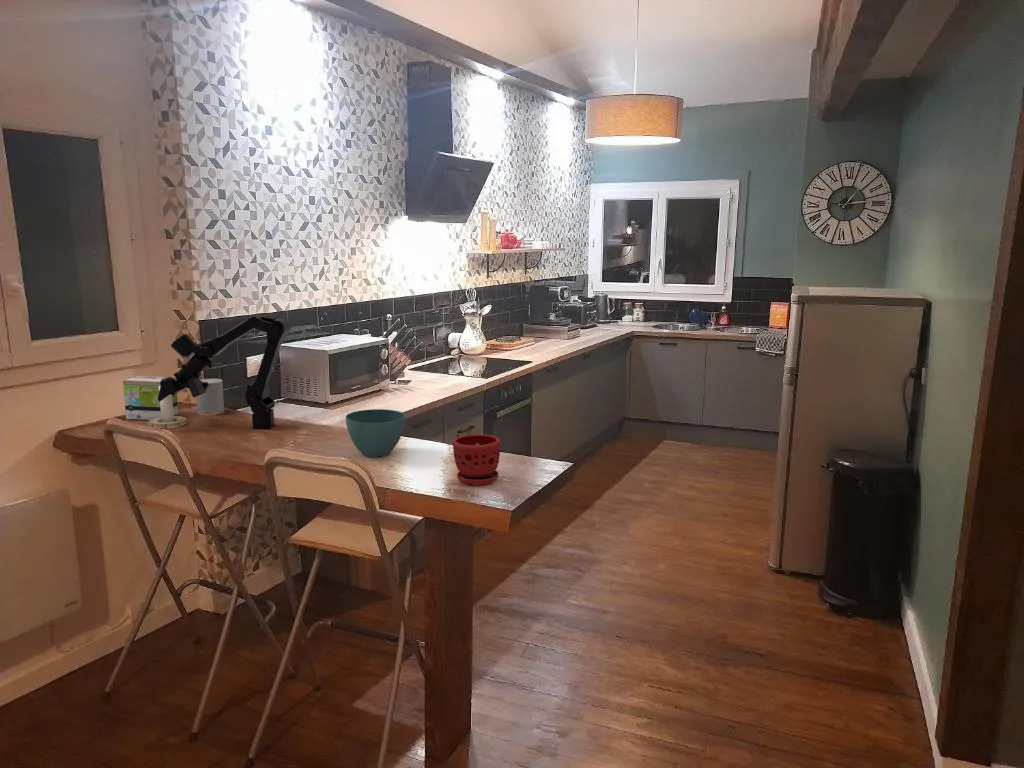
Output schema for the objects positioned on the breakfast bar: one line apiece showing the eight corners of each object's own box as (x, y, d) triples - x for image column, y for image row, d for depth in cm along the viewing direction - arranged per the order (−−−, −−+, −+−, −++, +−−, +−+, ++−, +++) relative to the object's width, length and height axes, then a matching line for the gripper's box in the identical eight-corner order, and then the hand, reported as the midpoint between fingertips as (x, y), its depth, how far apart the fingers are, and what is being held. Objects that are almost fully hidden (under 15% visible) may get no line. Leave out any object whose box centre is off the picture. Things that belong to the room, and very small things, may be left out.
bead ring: (192, 421, 267) (192, 416, 266) (175, 429, 255) (175, 424, 255) (160, 419, 267) (160, 415, 267) (142, 428, 256) (142, 423, 255)
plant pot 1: (380, 442, 243) (379, 406, 241) (417, 453, 232) (417, 415, 229) (334, 453, 230) (333, 415, 227) (372, 466, 218) (371, 425, 216)
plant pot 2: (499, 472, 214) (499, 433, 211) (500, 488, 201) (500, 445, 198) (454, 472, 213) (454, 432, 211) (452, 487, 200) (452, 445, 198)
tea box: (125, 420, 267) (121, 380, 264) (140, 413, 276) (136, 375, 273) (166, 421, 266) (162, 381, 263) (179, 414, 276) (176, 375, 273)
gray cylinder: (208, 417, 273) (206, 384, 271) (191, 413, 278) (189, 381, 275) (229, 411, 281) (228, 380, 279) (213, 408, 286) (211, 377, 283)
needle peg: (177, 423, 262) (174, 385, 260) (167, 426, 259) (164, 387, 256) (168, 422, 264) (165, 384, 261) (159, 425, 260) (155, 386, 257)
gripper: (199, 389, 249) (169, 420, 251) (222, 378, 267) (194, 407, 269) (174, 365, 247) (144, 397, 250) (199, 356, 266) (171, 386, 268)
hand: (165, 397), depth 259 cm, fingers open, 9 cm apart
